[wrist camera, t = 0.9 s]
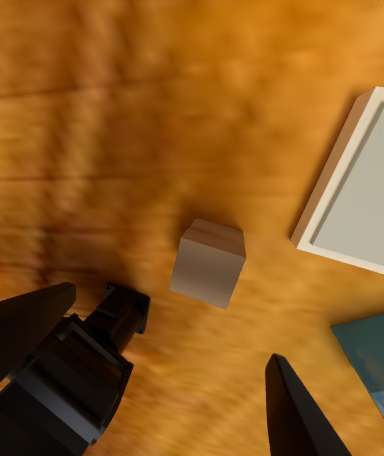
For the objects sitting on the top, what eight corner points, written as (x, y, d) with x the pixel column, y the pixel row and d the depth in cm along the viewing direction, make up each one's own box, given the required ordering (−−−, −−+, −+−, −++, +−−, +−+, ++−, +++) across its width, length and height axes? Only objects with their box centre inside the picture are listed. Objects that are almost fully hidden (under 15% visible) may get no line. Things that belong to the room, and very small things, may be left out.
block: (228, 271, 20) (225, 309, 15) (186, 257, 21) (168, 289, 15) (242, 231, 19) (246, 257, 13) (196, 217, 19) (180, 237, 14)
